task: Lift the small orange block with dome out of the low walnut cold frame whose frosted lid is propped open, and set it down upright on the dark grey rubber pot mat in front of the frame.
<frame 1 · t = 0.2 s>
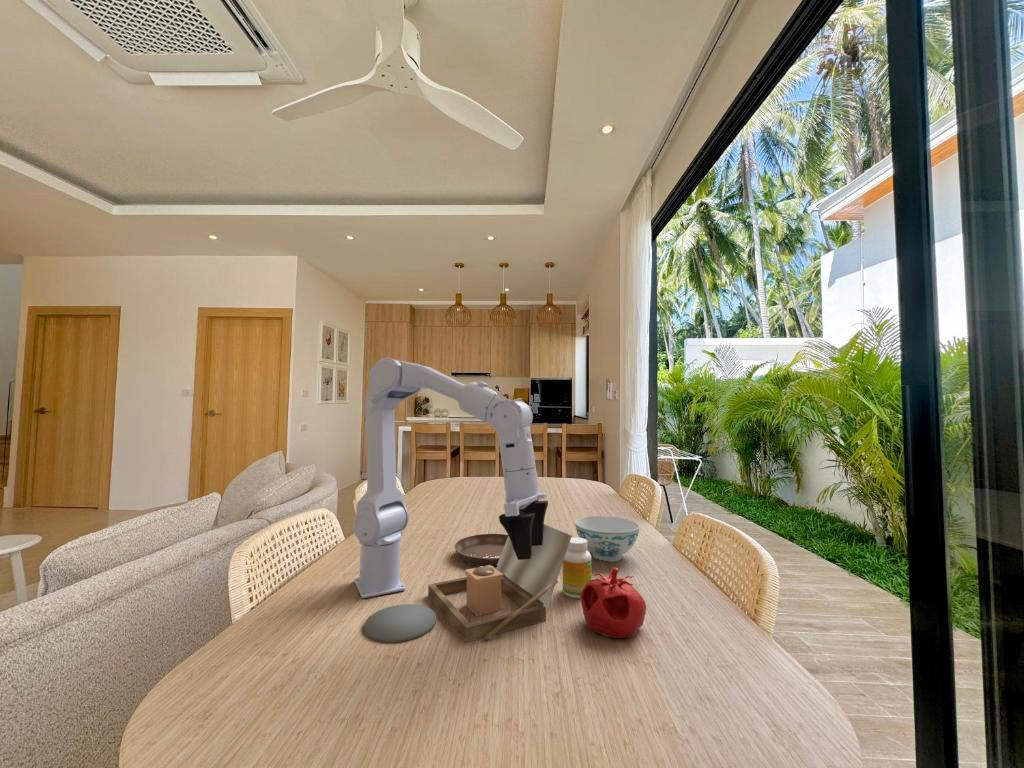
hand: (530, 551, 70), 11 cm above the table, tool pointing down, fingers open, 7 cm apart
cold frame: (483, 607, 73), on the table
orange block with dome: (483, 607, 73), resting in cold frame
supplement bottle: (577, 594, 79), on the table
plant saucer: (491, 558, 99), on the table
pot mat: (401, 623, 67), on the table
chinaware: (607, 557, 99), on the table
hollow red tomato: (613, 629, 66), on the table
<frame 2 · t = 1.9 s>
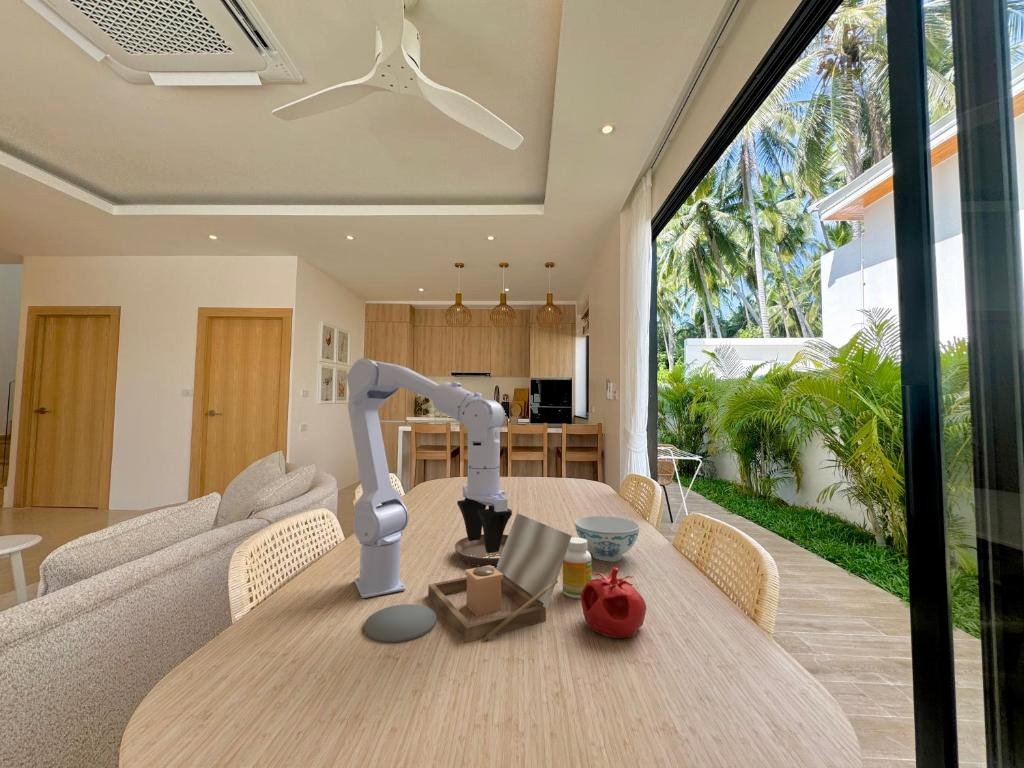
hand: (482, 545, 73), 10 cm above the table, tool pointing down, fingers open, 7 cm apart
nothing on the table moved.
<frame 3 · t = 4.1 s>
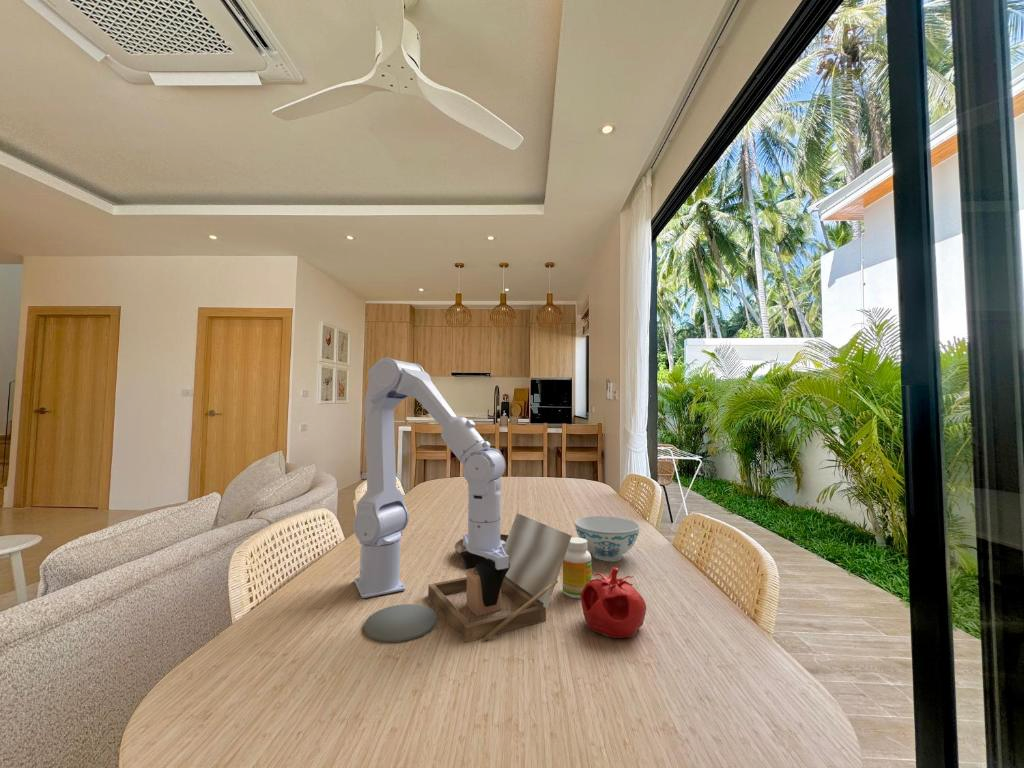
hand: (483, 598, 73), 1 cm above the table, tool pointing down, fingers closed on orange block with dome, 5 cm apart
orange block with dome: (483, 607, 73), resting in cold frame, touching gripper
everything else where it was.
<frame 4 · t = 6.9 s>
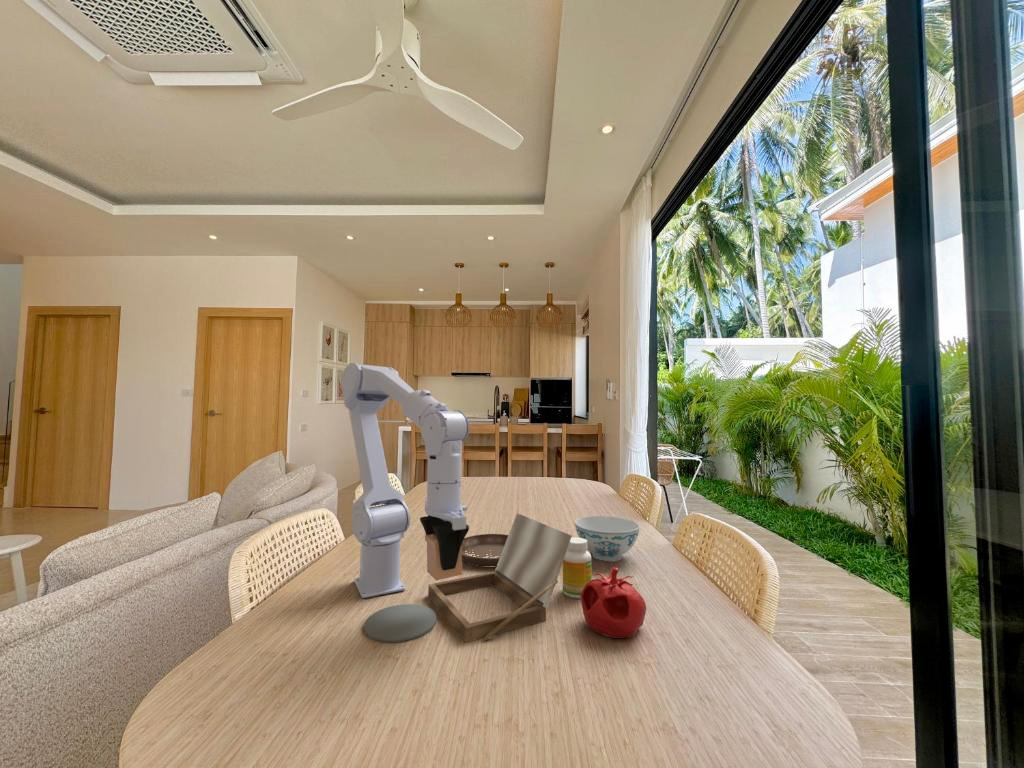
hand: (442, 563, 70), 8 cm above the table, tool pointing down, fingers closed on orange block with dome, 5 cm apart
orange block with dome: (444, 573, 70), point 7 cm above the table, touching gripper
everything else where it was.
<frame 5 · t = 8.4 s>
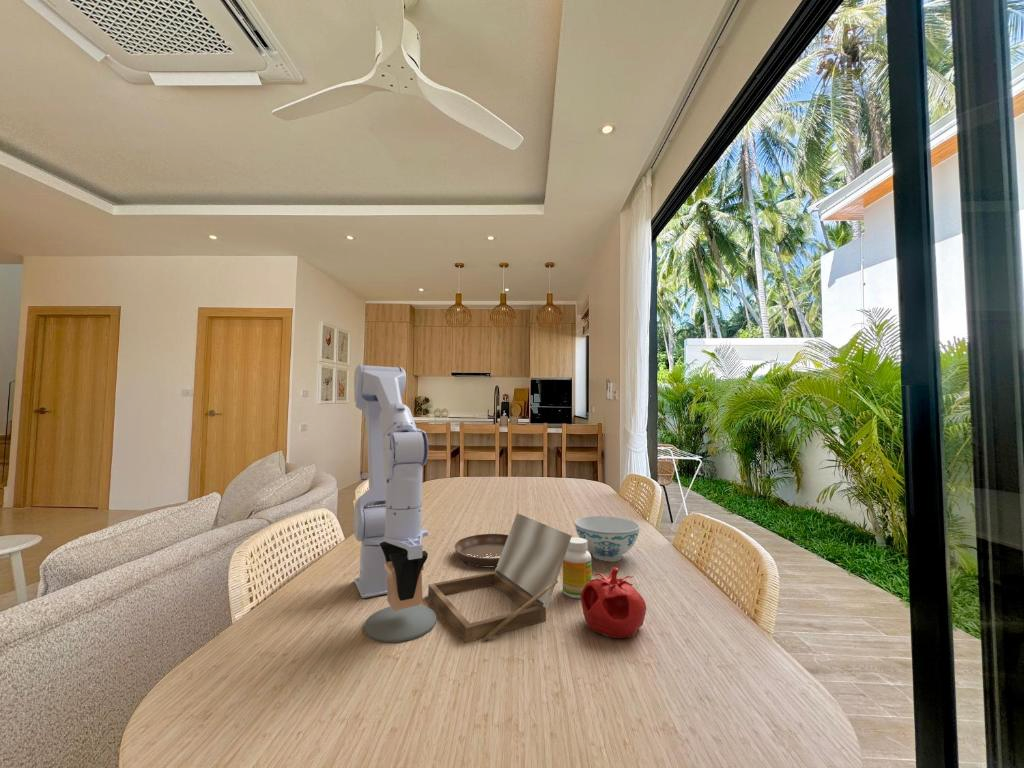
hand: (401, 592, 67), 5 cm above the table, tool pointing down, fingers closed on orange block with dome, 5 cm apart
orange block with dome: (404, 602, 67), point 3 cm above the table, touching gripper
everything else where it was.
when the fingers open (3 cm above the table, at t = 9.8 s): orange block with dome stays where it is, resting on pot mat.
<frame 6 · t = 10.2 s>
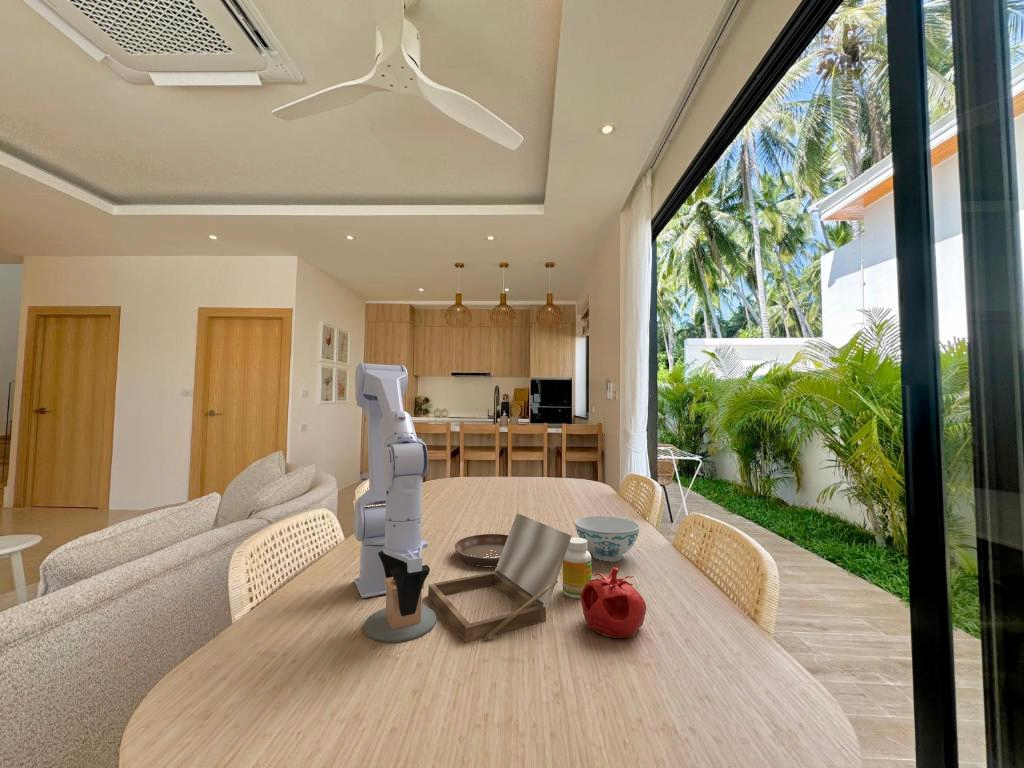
hand: (401, 604, 67), 3 cm above the table, tool pointing down, fingers open, 7 cm apart
orange block with dome: (402, 619, 67), point 1 cm above the table, touching pot mat
everything else where it was.
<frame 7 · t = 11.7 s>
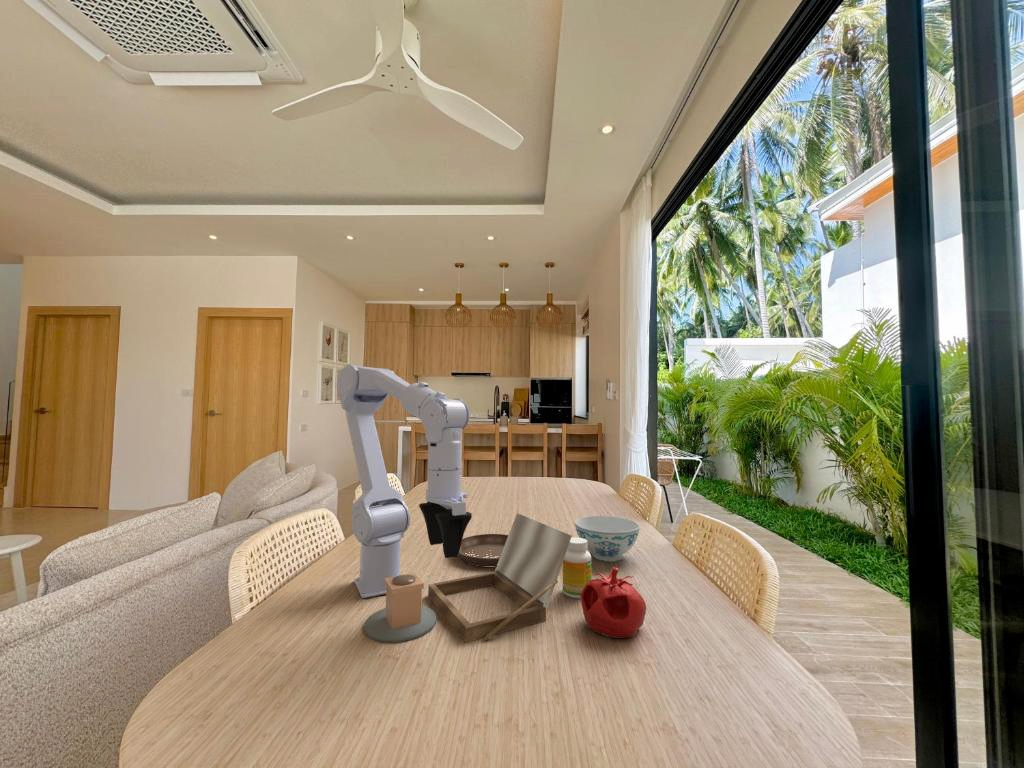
hand: (443, 550, 71), 10 cm above the table, tool pointing down, fingers open, 7 cm apart
nothing on the table moved.
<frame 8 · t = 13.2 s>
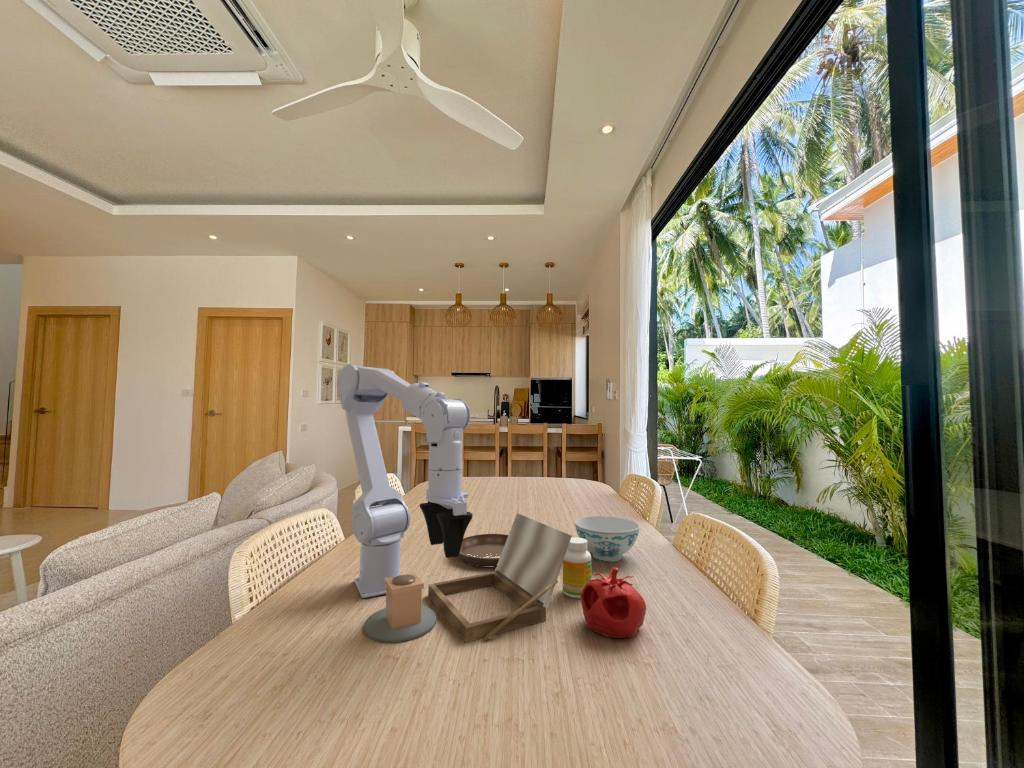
hand: (444, 550, 71), 10 cm above the table, tool pointing down, fingers open, 7 cm apart
nothing on the table moved.
at the end: orange block with dome 0.3 cm from the pot mat (horizontally); orange block with dome tilted 0°; orange block with dome point 0.6 cm above the table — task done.
